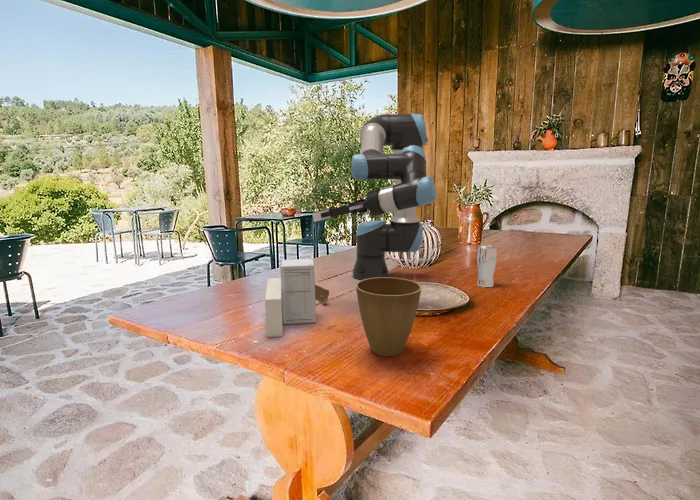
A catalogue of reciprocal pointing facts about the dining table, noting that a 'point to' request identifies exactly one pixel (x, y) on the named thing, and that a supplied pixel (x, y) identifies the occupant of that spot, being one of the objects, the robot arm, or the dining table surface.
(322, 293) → the brown bark piece
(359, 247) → the robot arm
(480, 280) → the beer glass
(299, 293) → the supplement box
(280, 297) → the white rectangular block
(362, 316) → the plant pot
